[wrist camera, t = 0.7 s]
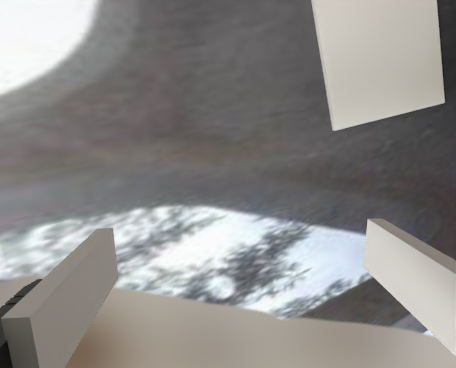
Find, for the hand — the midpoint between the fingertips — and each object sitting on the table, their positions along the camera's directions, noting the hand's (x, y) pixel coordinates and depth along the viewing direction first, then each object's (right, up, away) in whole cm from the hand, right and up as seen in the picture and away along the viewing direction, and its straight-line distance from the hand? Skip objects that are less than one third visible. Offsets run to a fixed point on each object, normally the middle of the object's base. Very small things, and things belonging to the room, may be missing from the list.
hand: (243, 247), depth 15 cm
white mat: (+20, +21, +24) cm, 38 cm away
